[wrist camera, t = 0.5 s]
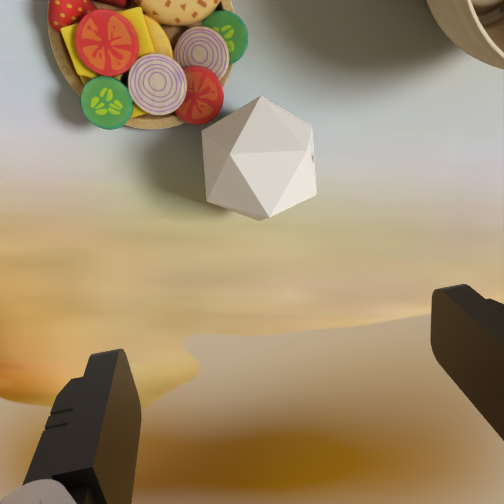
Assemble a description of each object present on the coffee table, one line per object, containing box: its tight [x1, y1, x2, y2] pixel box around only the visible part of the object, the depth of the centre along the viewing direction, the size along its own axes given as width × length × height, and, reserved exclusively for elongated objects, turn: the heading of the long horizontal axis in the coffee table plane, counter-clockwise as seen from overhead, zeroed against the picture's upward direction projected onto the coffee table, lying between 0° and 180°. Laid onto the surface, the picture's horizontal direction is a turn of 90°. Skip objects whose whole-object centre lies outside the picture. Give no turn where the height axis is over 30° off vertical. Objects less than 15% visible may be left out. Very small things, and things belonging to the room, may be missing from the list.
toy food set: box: [47, 0, 248, 130], centre depth 31 cm, size 13×13×3 cm
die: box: [201, 96, 317, 221], centre depth 33 cm, size 8×9×10 cm
